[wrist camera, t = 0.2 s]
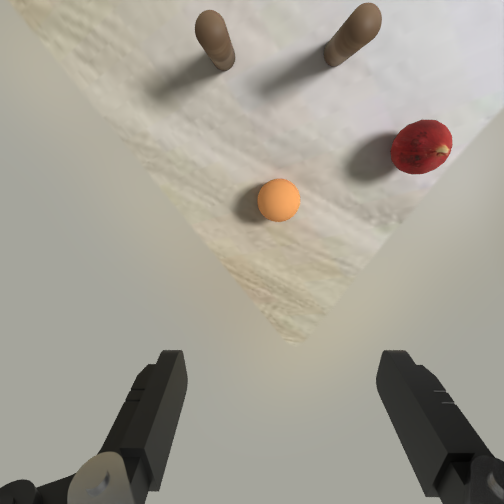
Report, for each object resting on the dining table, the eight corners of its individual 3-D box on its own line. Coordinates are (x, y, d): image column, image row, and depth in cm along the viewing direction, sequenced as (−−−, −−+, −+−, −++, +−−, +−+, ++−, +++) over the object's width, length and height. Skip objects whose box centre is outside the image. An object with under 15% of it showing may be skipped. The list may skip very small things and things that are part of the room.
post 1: (211, 43, 29) (193, 10, 21) (234, 42, 29) (225, 9, 21) (213, 71, 30) (196, 50, 22) (235, 70, 30) (227, 49, 22)
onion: (384, 176, 35) (417, 188, 28) (376, 132, 33) (409, 133, 25) (429, 159, 34) (476, 167, 27) (425, 112, 32) (474, 108, 24)
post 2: (325, 38, 29) (351, 3, 21) (348, 37, 29) (384, 1, 21) (322, 66, 30) (346, 44, 22) (345, 66, 30) (378, 43, 22)
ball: (257, 175, 35) (256, 183, 30) (298, 174, 35) (304, 182, 30) (257, 215, 38) (257, 228, 33) (296, 214, 37) (302, 227, 32)
